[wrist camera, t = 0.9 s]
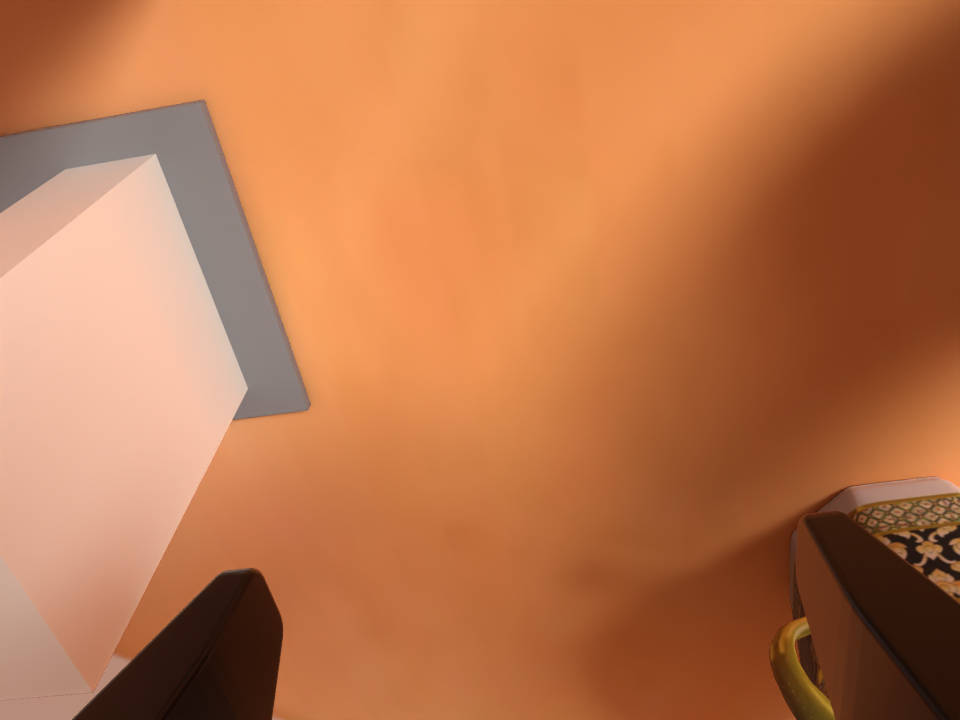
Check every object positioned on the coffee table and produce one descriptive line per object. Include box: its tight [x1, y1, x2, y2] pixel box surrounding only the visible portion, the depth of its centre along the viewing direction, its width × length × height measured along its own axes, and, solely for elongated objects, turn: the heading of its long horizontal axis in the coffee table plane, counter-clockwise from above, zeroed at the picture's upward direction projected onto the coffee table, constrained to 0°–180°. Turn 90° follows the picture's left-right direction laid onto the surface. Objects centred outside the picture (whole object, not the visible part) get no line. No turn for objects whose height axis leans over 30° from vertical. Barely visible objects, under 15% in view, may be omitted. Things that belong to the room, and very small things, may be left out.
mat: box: [0, 100, 311, 420], centre depth 22 cm, size 14×9×1 cm, turn 100°
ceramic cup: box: [769, 477, 960, 720], centre depth 21 cm, size 13×10×10 cm
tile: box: [0, 154, 248, 700], centre depth 17 cm, size 2×7×10 cm, turn 10°
